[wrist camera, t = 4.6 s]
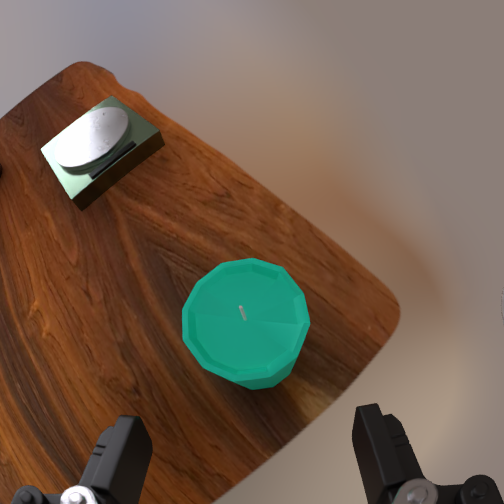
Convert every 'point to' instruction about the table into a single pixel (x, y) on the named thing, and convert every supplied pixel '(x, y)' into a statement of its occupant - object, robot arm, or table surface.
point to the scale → (100, 150)
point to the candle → (246, 322)
